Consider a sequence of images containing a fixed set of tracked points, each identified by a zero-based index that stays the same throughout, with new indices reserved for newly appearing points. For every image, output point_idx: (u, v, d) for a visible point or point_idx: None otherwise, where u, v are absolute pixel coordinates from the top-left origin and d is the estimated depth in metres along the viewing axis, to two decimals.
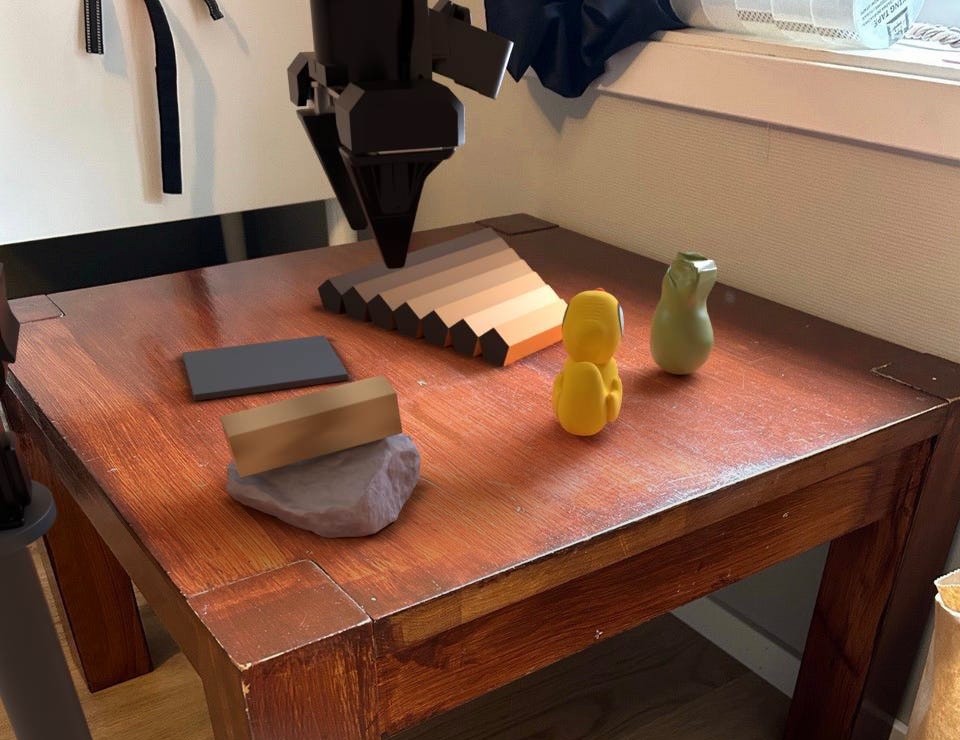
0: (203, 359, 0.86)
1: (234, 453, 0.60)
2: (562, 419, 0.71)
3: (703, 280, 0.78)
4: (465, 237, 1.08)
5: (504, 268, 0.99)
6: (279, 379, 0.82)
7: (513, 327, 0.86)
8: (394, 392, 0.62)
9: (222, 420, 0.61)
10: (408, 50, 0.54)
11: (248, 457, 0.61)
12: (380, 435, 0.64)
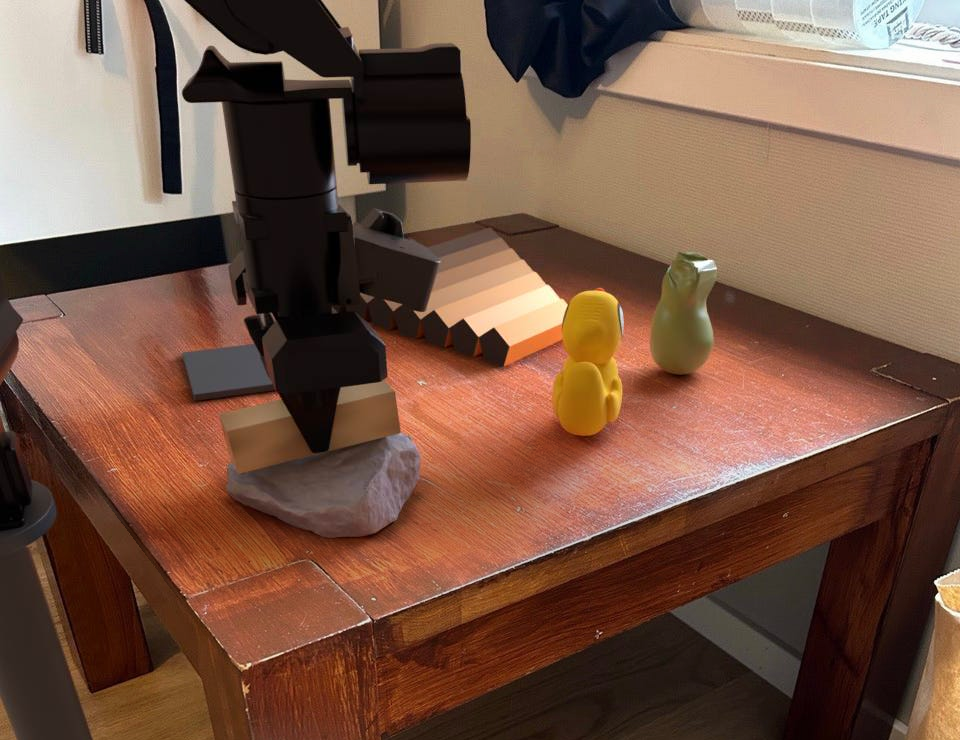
0: (203, 359, 0.86)
1: (232, 448, 0.60)
2: (562, 419, 0.71)
3: (703, 280, 0.78)
4: (465, 237, 1.08)
5: (504, 268, 0.99)
6: None
7: (513, 327, 0.86)
8: (392, 391, 0.63)
9: (221, 417, 0.61)
10: (336, 276, 0.56)
11: (245, 453, 0.61)
12: (378, 434, 0.64)
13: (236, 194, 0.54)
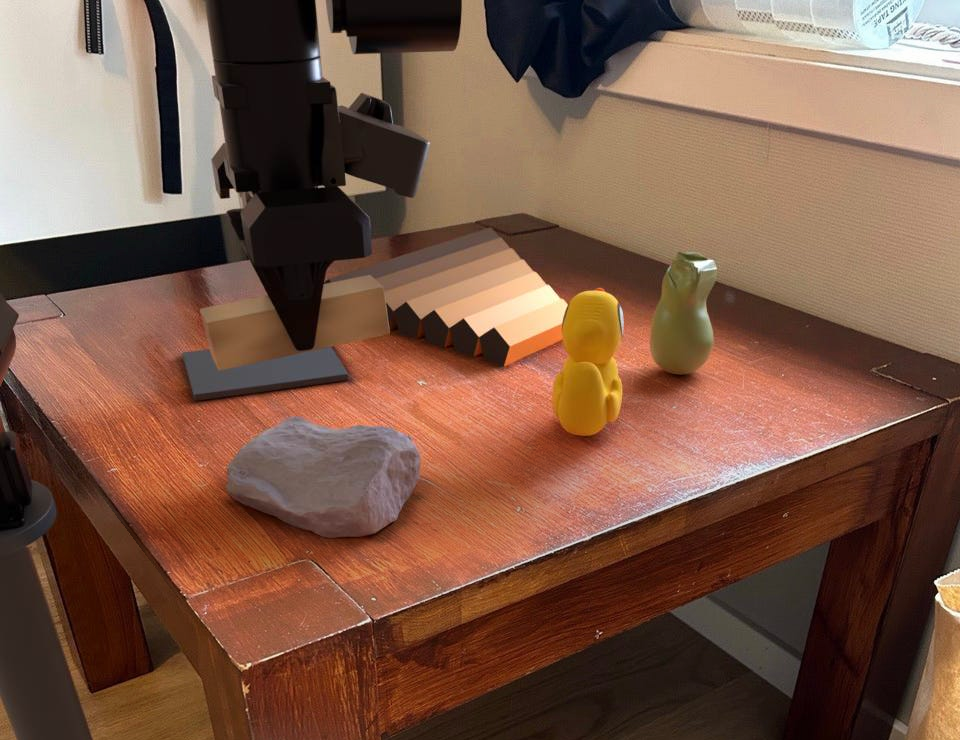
0: (203, 359, 0.86)
1: (212, 342, 0.58)
2: (562, 419, 0.71)
3: (703, 280, 0.78)
4: (465, 237, 1.08)
5: (504, 268, 0.99)
6: (279, 379, 0.82)
7: (513, 327, 0.86)
8: (381, 287, 0.60)
9: (201, 311, 0.59)
10: (320, 154, 0.54)
11: (227, 348, 0.58)
12: (366, 334, 0.61)
13: (214, 62, 0.51)
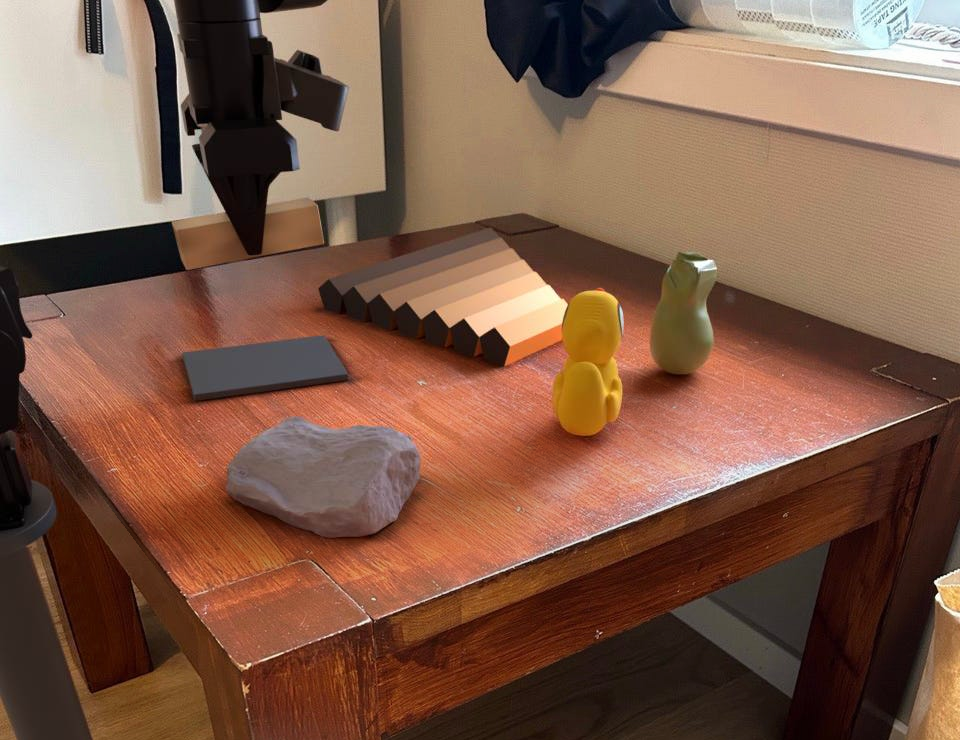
0: (203, 359, 0.86)
1: (181, 246, 0.74)
2: (562, 419, 0.71)
3: (703, 280, 0.78)
4: (465, 237, 1.08)
5: (504, 268, 0.99)
6: (279, 379, 0.82)
7: (514, 327, 0.86)
8: (315, 204, 0.76)
9: (173, 223, 0.75)
10: (261, 94, 0.69)
11: (192, 251, 0.74)
12: (305, 243, 0.77)
13: (178, 22, 0.67)
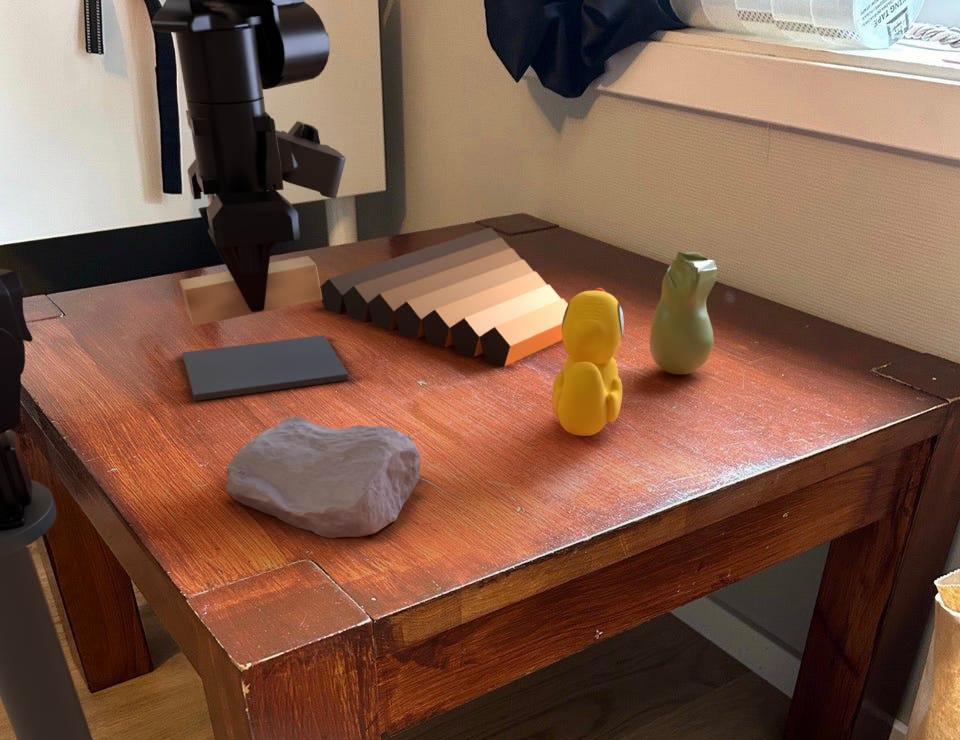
0: (203, 359, 0.86)
1: (188, 304, 0.79)
2: (562, 419, 0.71)
3: (703, 280, 0.78)
4: (465, 237, 1.08)
5: (505, 268, 0.99)
6: (279, 379, 0.82)
7: (514, 327, 0.86)
8: (314, 264, 0.81)
9: (181, 282, 0.80)
10: (264, 166, 0.75)
11: (199, 309, 0.79)
12: (304, 299, 0.82)
13: (187, 102, 0.72)
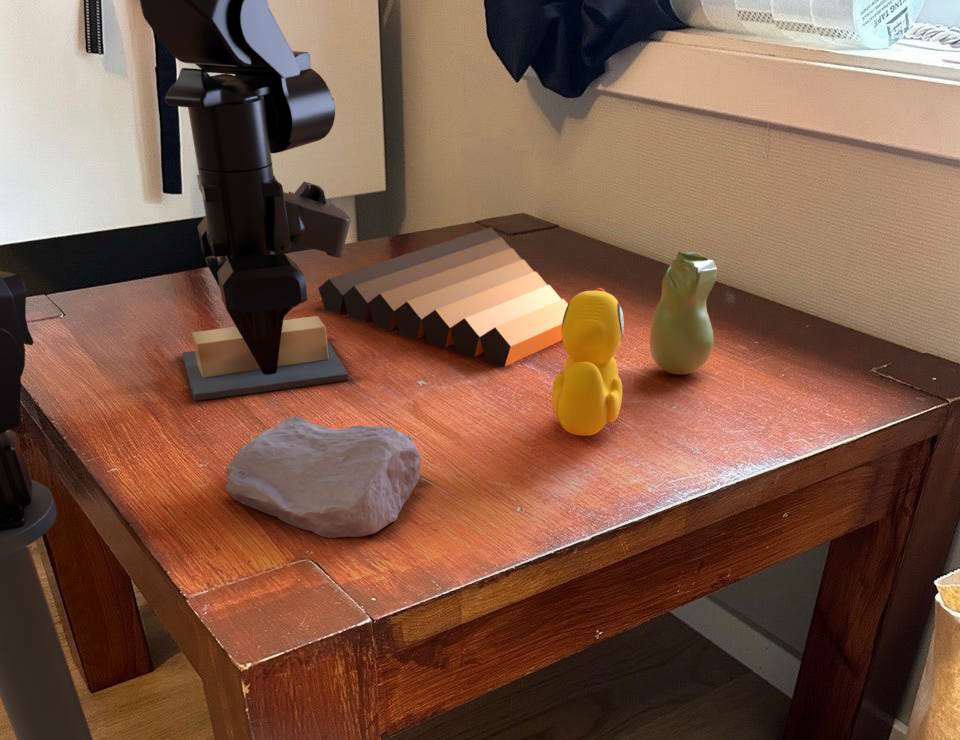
0: None
1: (200, 357, 0.81)
2: (562, 419, 0.71)
3: (703, 280, 0.78)
4: (466, 237, 1.08)
5: (505, 268, 0.99)
6: (279, 379, 0.82)
7: (514, 327, 0.86)
8: (323, 326, 0.84)
9: (193, 334, 0.83)
10: (273, 229, 0.77)
11: (210, 362, 0.82)
12: (311, 358, 0.85)
13: (199, 169, 0.75)
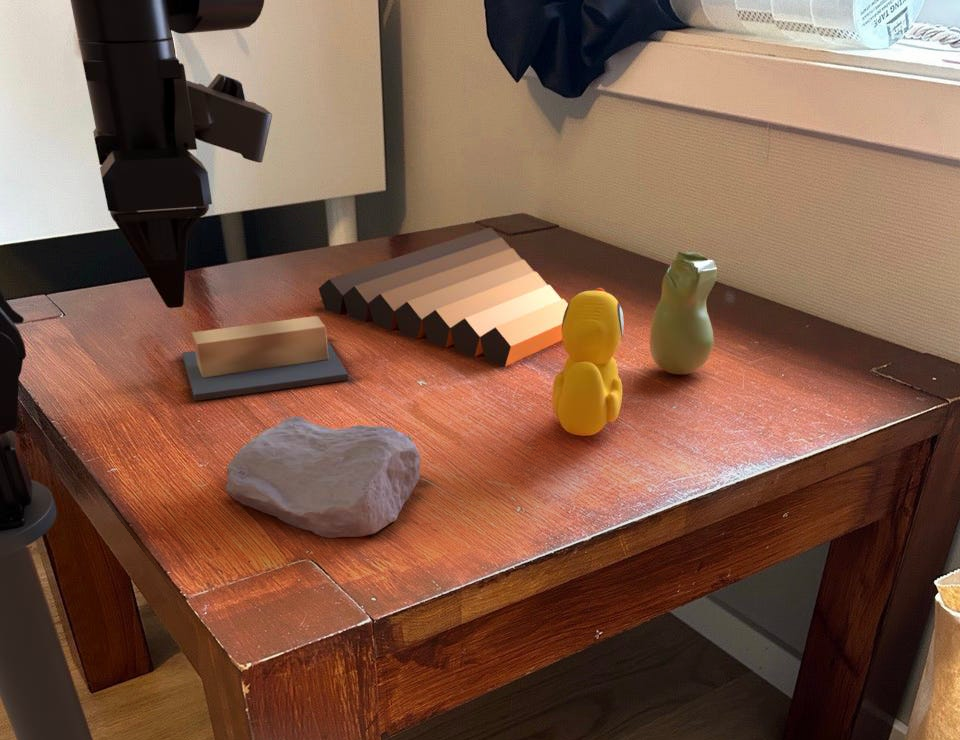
0: None
1: (200, 357, 0.81)
2: (562, 419, 0.71)
3: (703, 280, 0.78)
4: (466, 237, 1.08)
5: (505, 268, 0.99)
6: (279, 379, 0.82)
7: (515, 327, 0.86)
8: (323, 326, 0.84)
9: (193, 334, 0.83)
10: (174, 122, 0.63)
11: (210, 362, 0.82)
12: (311, 358, 0.85)
13: (79, 41, 0.60)
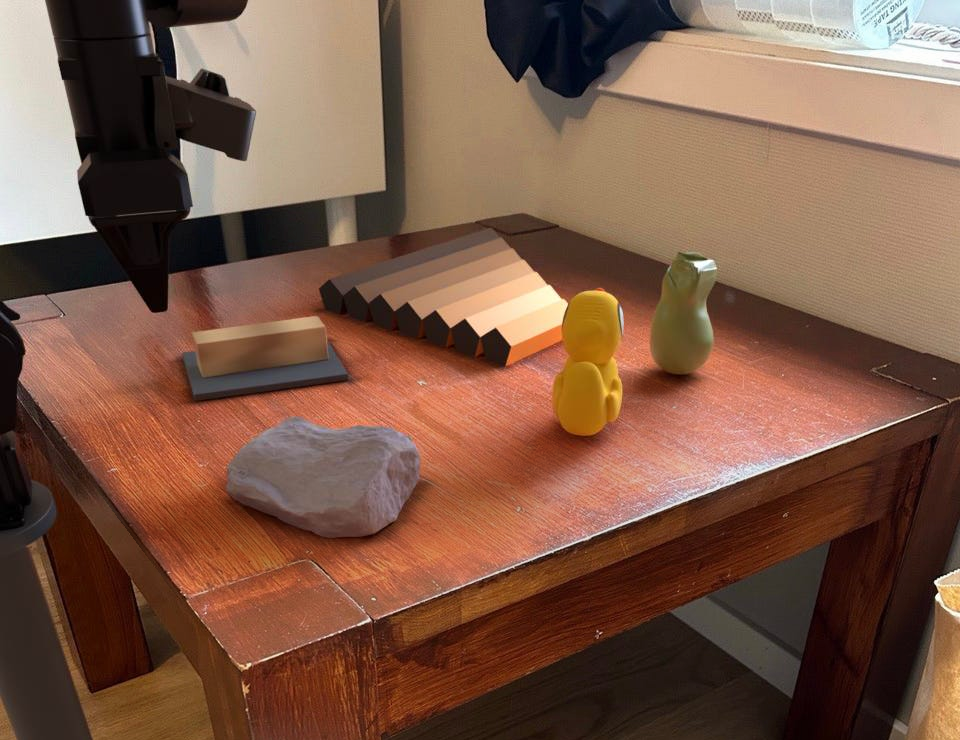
0: None
1: (200, 357, 0.81)
2: (562, 419, 0.71)
3: (703, 280, 0.78)
4: (466, 237, 1.08)
5: (505, 268, 0.99)
6: (279, 379, 0.82)
7: (515, 327, 0.86)
8: (323, 326, 0.84)
9: (193, 334, 0.83)
10: (154, 120, 0.61)
11: (210, 362, 0.82)
12: (311, 358, 0.85)
13: (54, 39, 0.58)
